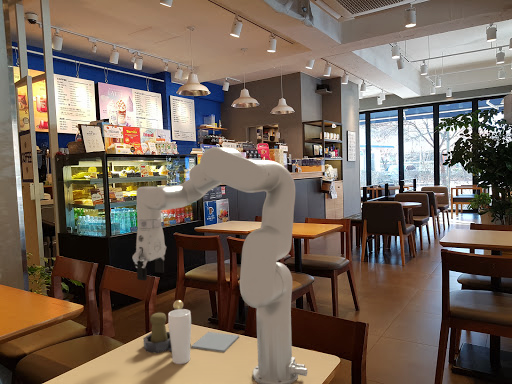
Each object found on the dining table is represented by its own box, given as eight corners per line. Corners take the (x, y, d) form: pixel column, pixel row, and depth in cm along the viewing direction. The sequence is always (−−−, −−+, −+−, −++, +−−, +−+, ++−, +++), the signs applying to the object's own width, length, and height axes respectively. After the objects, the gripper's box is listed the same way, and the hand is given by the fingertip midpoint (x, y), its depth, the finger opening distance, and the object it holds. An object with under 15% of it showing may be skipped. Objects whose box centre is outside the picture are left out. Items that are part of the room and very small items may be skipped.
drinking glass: (187, 366, 116) (185, 317, 116) (166, 365, 118) (164, 316, 117) (195, 356, 123) (193, 309, 122) (175, 355, 124) (173, 308, 124)
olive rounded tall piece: (172, 345, 132) (170, 313, 131) (156, 351, 127) (155, 318, 127) (162, 340, 136) (160, 309, 135) (146, 346, 131) (145, 314, 131)
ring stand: (194, 343, 132) (192, 296, 131) (178, 356, 123) (176, 305, 122) (155, 338, 138) (153, 293, 137) (138, 350, 129) (136, 301, 128)
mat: (239, 337, 136) (239, 335, 136) (224, 352, 125) (224, 350, 125) (208, 333, 141) (208, 331, 141) (191, 347, 129) (191, 345, 129)
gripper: (143, 228, 119) (145, 284, 120) (173, 221, 135) (175, 270, 136) (122, 227, 121) (124, 282, 122) (154, 220, 138) (156, 268, 139)
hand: (151, 275), depth 129 cm, fingers open, 9 cm apart
